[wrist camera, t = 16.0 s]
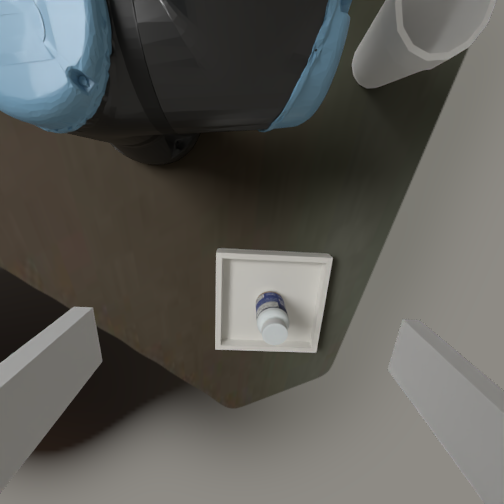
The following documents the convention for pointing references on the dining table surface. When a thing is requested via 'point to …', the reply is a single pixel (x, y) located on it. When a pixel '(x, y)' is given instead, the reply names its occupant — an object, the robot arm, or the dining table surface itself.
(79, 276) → the dining table surface
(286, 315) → the pill bottle
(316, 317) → the tray
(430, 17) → the foam cup
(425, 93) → the dining table surface
